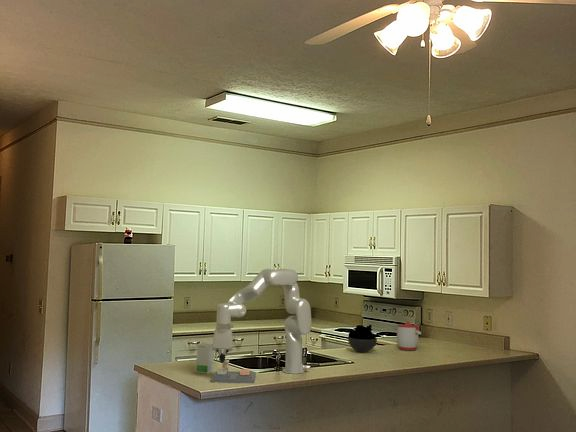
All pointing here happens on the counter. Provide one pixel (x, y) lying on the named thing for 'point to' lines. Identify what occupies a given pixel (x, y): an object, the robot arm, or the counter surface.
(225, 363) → the birch paddle
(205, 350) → the skincare box
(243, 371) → the terracotta button
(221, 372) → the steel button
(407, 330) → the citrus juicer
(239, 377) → the switch panel
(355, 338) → the bowl of black rocks
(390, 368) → the counter surface
